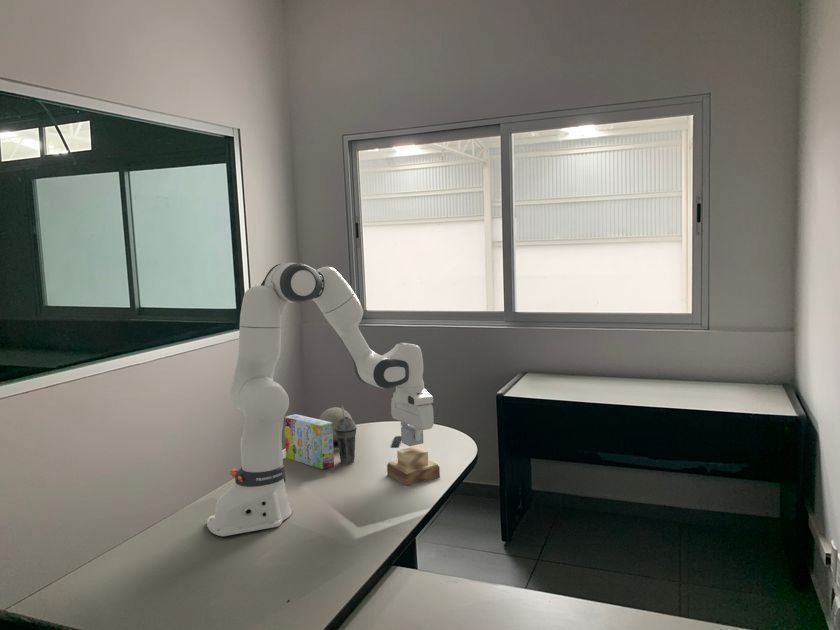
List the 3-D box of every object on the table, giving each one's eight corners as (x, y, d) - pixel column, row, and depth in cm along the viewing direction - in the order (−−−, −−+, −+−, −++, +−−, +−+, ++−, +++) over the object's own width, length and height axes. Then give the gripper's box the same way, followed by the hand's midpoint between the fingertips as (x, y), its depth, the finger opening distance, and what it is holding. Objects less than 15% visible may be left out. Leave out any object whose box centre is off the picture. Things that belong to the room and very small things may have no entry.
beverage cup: (362, 461, 213) (360, 403, 211) (349, 467, 207) (346, 408, 205) (345, 458, 217) (343, 401, 215) (332, 464, 211) (329, 405, 209)
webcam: (361, 445, 231) (359, 405, 230) (339, 455, 220) (337, 413, 219) (333, 441, 238) (331, 402, 237) (311, 450, 227) (309, 410, 226)
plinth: (406, 485, 188) (406, 472, 188) (387, 474, 198) (386, 462, 198) (439, 477, 194) (439, 464, 194) (419, 467, 205) (419, 455, 204)
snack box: (335, 466, 209) (333, 421, 208) (322, 470, 205) (320, 425, 204) (298, 454, 224) (295, 412, 222) (284, 458, 219) (282, 416, 218)
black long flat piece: (379, 457, 219) (378, 448, 218) (392, 437, 243) (391, 428, 243) (404, 457, 218) (404, 448, 217) (415, 437, 242) (414, 428, 242)
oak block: (409, 468, 191) (408, 456, 191) (397, 462, 197) (397, 450, 197) (428, 464, 195) (427, 451, 195) (416, 458, 201) (416, 446, 200)
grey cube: (409, 446, 192) (409, 430, 192) (401, 442, 196) (400, 427, 196) (423, 443, 195) (422, 427, 194) (415, 439, 199) (414, 424, 199)
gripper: (385, 390, 201) (387, 432, 203) (418, 401, 184) (420, 447, 185) (402, 387, 205) (404, 429, 206) (436, 398, 187) (438, 443, 188)
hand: (412, 437), depth 195 cm, fingers closed on grey cube, 5 cm apart
